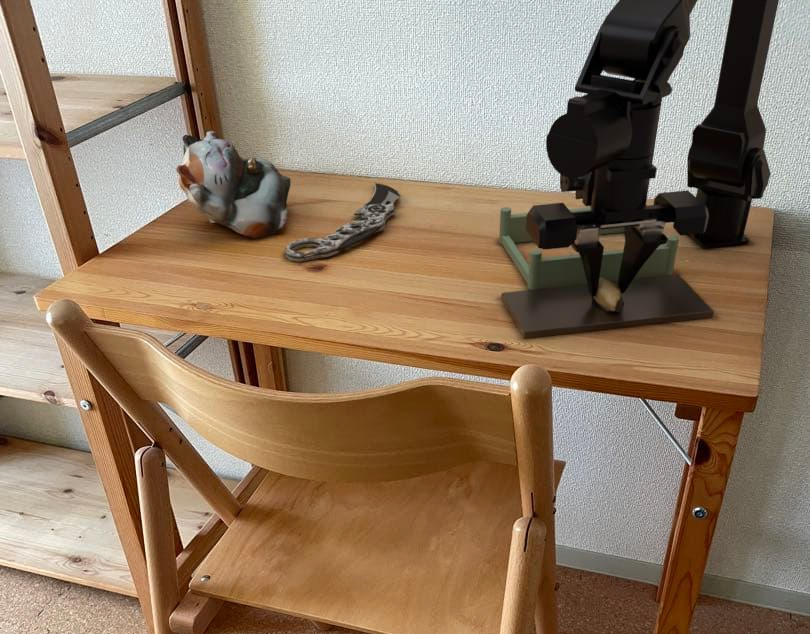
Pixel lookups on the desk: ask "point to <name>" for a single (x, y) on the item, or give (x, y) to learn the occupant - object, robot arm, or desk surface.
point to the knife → (349, 228)
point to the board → (582, 313)
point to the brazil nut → (609, 296)
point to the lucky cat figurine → (233, 186)
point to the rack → (574, 257)
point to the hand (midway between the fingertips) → (606, 293)
